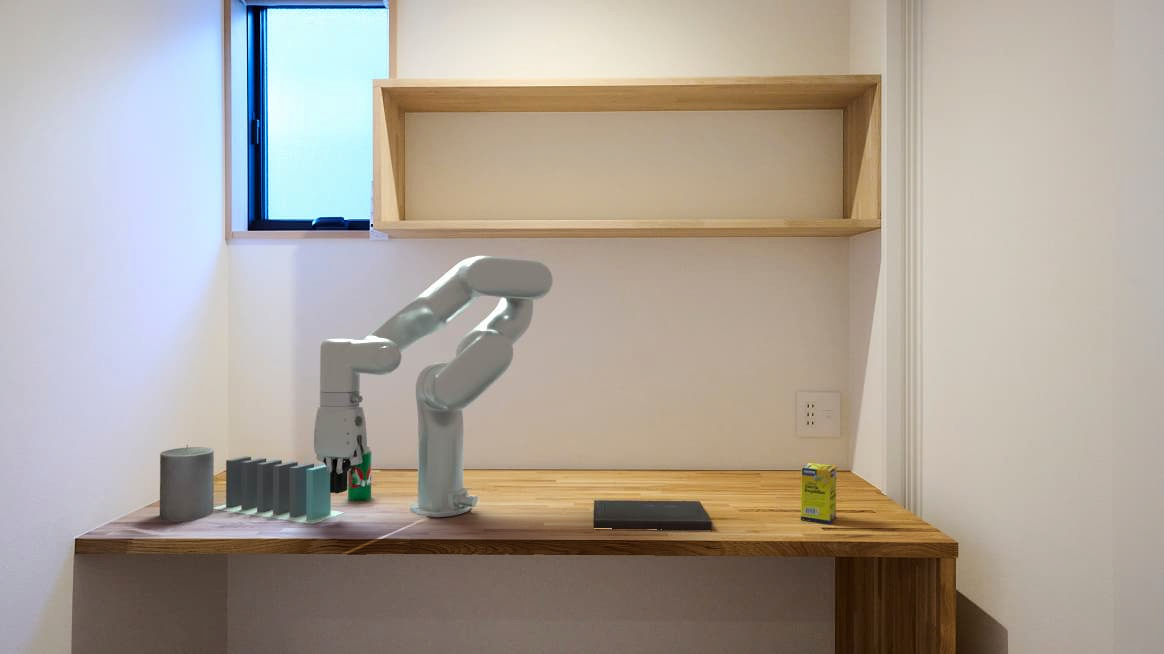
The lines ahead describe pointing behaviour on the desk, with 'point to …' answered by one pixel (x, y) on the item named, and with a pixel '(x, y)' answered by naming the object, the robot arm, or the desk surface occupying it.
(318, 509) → the tile
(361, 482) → the soda can
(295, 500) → the tile
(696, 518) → the hardcover book
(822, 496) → the supplement box
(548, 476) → the desk surface
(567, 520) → the desk surface
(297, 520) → the mat
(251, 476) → the tile
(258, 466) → the tile
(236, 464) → the tile
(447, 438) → the robot arm
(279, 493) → the tile
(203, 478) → the pillar candle
